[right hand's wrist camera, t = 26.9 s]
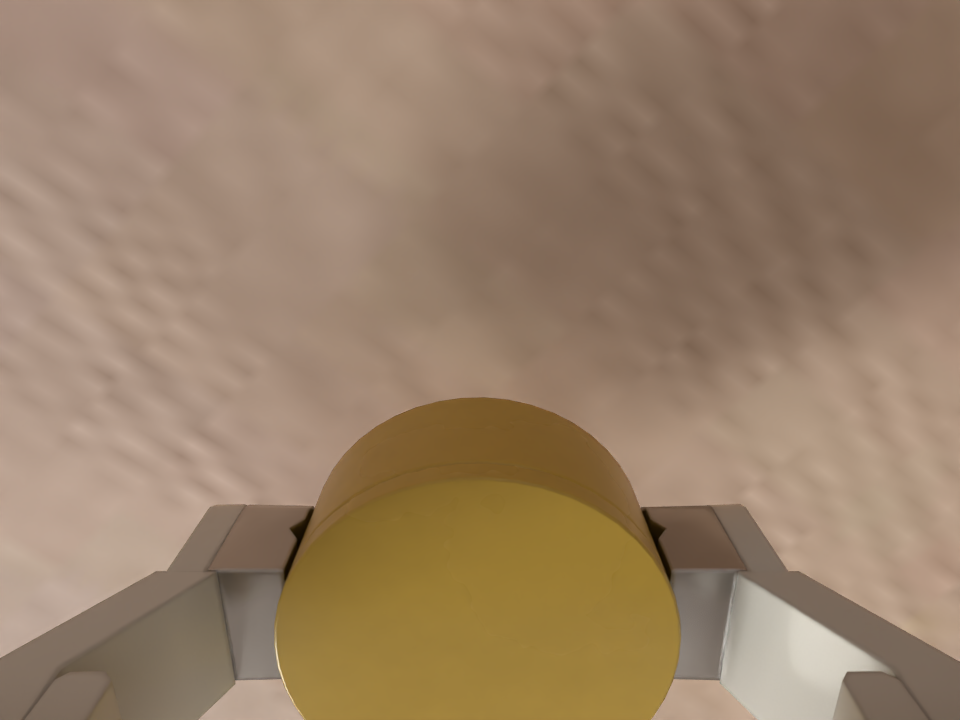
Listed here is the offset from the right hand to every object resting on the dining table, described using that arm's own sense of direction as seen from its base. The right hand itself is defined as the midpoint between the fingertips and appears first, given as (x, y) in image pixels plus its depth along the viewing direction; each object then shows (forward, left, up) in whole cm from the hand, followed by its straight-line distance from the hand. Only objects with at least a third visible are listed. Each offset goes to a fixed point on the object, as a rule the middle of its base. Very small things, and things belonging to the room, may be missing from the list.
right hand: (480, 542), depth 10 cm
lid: (0, 0, +2) cm, 2 cm away
